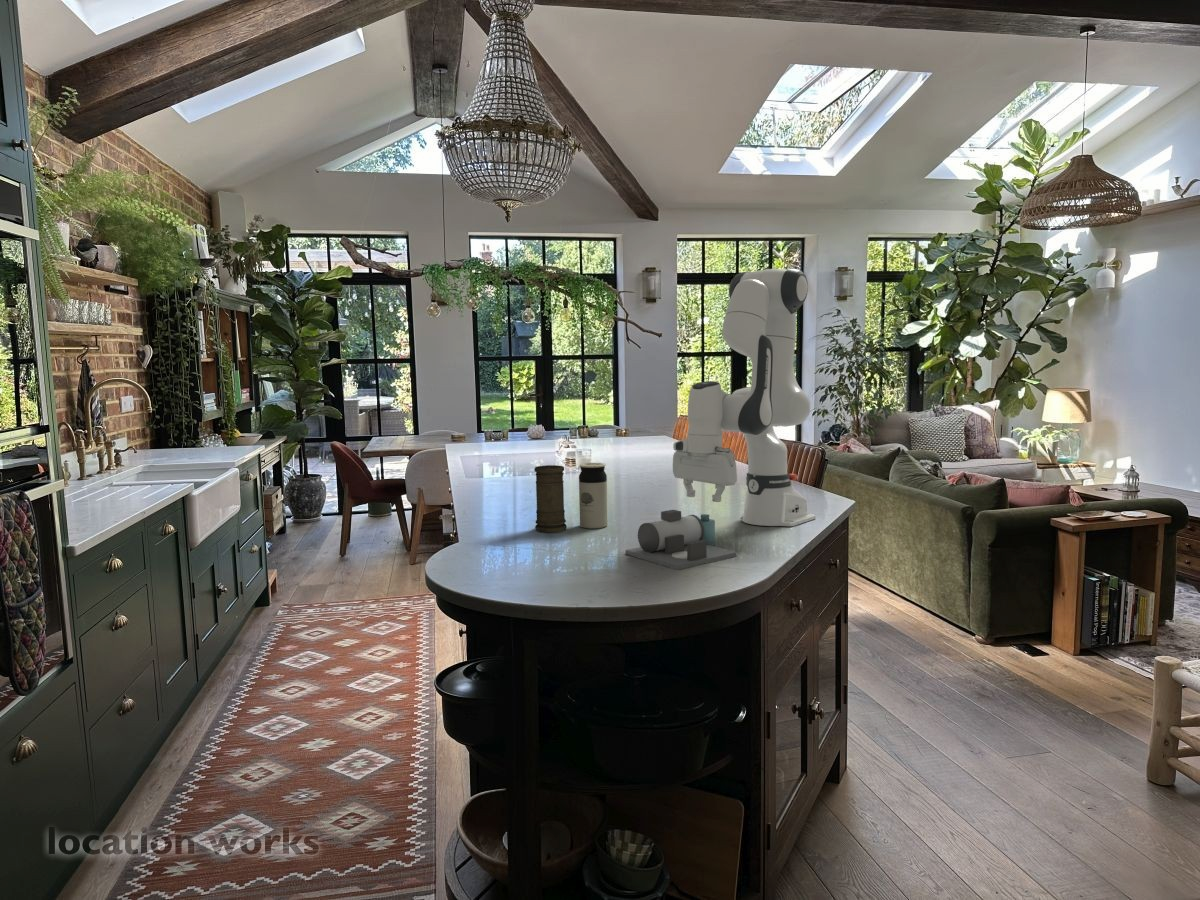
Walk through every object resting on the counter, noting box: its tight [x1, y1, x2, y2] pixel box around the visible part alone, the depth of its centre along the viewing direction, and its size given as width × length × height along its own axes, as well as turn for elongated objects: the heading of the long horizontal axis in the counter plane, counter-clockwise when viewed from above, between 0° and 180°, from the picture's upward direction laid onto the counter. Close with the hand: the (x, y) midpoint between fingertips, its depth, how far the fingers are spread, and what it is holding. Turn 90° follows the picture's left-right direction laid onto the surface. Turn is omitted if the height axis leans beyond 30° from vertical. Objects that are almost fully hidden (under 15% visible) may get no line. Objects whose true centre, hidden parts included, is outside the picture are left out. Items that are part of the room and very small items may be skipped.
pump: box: [700, 513, 716, 546], centre depth 203 cm, size 5×5×8 cm
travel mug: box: [578, 462, 608, 530], centre depth 226 cm, size 8×8×18 cm
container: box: [534, 464, 568, 534], centre depth 222 cm, size 9×9×18 cm
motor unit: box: [625, 509, 737, 570], centre depth 191 cm, size 19×19×10 cm
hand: (703, 499), depth 202 cm, fingers open, 8 cm apart
